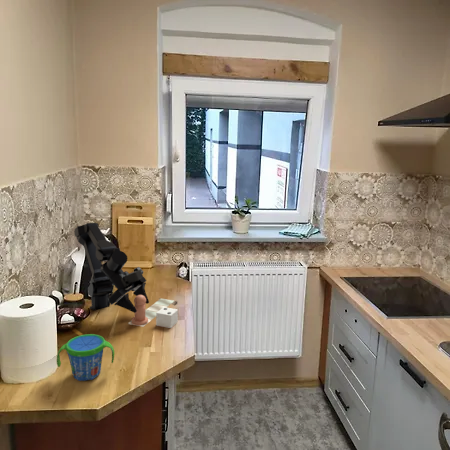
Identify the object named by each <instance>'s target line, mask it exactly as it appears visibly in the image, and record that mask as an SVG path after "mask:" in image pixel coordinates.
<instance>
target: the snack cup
mask: <svg viewBox="0 0 450 450" xmlns="http://www.w3.org/2000/svg"><path fill="white" fill-rule="evenodd" d="M105 348H108V349H110V351H111V364H113V363H114V360H115V348H114V347H113V345H112V344H111V343H110V342H109V341H107V340H105V338H104V337H103V336H102V335H100V334H94V333H90V334H89V333H88V334H87V333H86V334H82V335H78V336H74V337H73V338H70V339H69V340H68V341H67V342H66V343H64V344H63V345H62V346H61V347H60V348H59V349H58V352H57V354H56V365H57V367H59V368H60V367H61V364H62V362H61V357H60V353H61V352H62V351H64V350H65V351H66V353H67V356H68V359H69V365H70V368H71V374H72V376H73V378H74V379H75V380H77V381H78V382H81V381H82V382H85V381H90V380H91V381H92V380H94V379H95V378H96V377H98V376H99V375H100V374H101V370H102V362H103V357H104V349H105Z"/></svg>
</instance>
